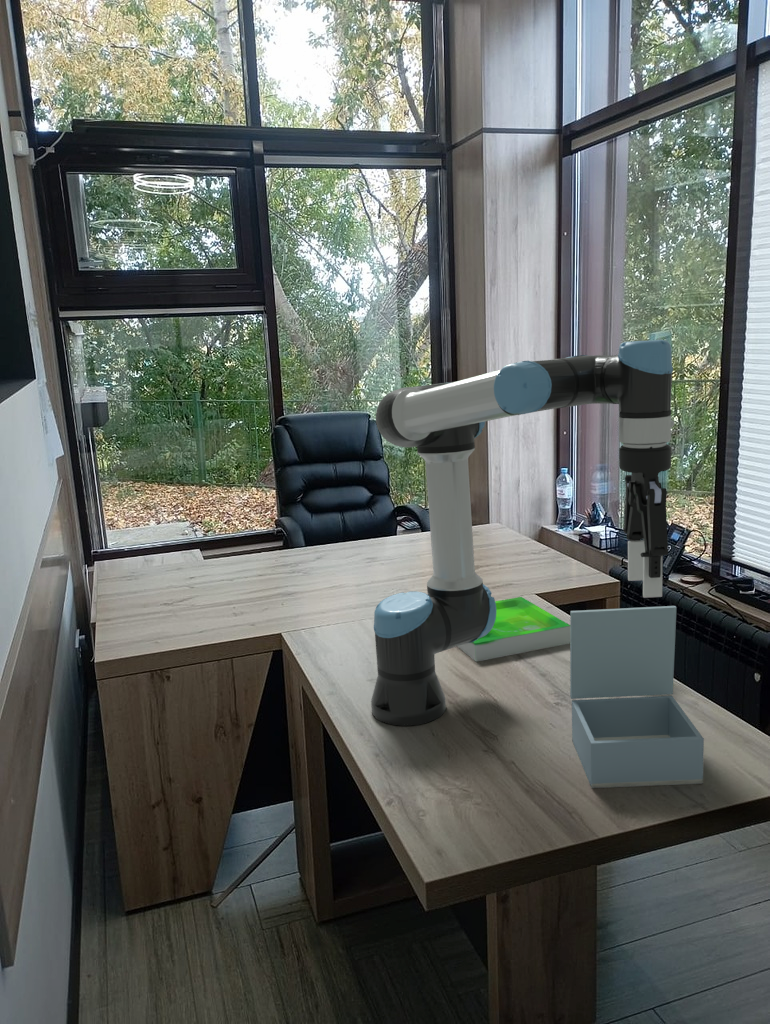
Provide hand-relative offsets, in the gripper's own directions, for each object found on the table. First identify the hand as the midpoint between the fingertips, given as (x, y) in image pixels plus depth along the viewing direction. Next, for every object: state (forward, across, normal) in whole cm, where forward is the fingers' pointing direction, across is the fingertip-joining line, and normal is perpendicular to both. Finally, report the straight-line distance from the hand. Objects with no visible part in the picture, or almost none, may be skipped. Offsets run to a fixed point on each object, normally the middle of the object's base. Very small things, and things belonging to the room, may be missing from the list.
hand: (644, 587), depth 127 cm
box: (+33, +6, 0) cm, 34 cm away
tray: (+34, +69, +16) cm, 79 cm away
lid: (+16, +13, 0) cm, 21 cm away
